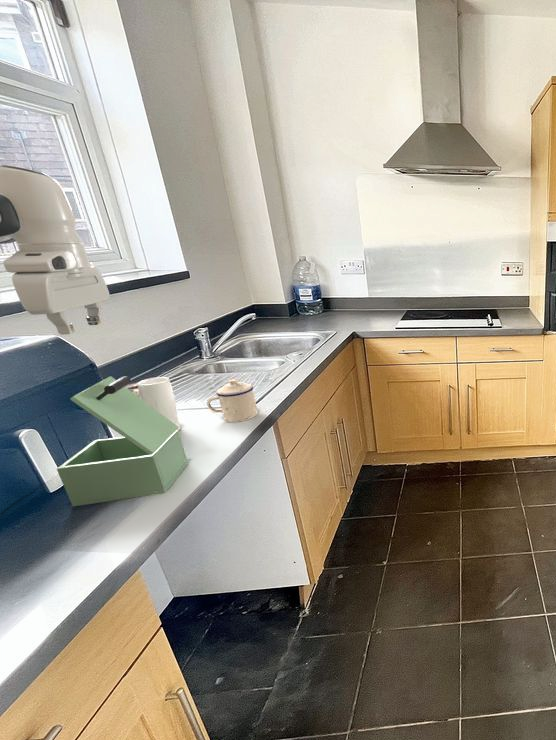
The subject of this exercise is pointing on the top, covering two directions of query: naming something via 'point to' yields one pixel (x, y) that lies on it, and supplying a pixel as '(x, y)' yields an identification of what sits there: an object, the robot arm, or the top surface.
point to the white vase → (159, 397)
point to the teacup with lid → (235, 401)
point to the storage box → (121, 470)
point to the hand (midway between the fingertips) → (82, 329)
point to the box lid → (126, 413)
